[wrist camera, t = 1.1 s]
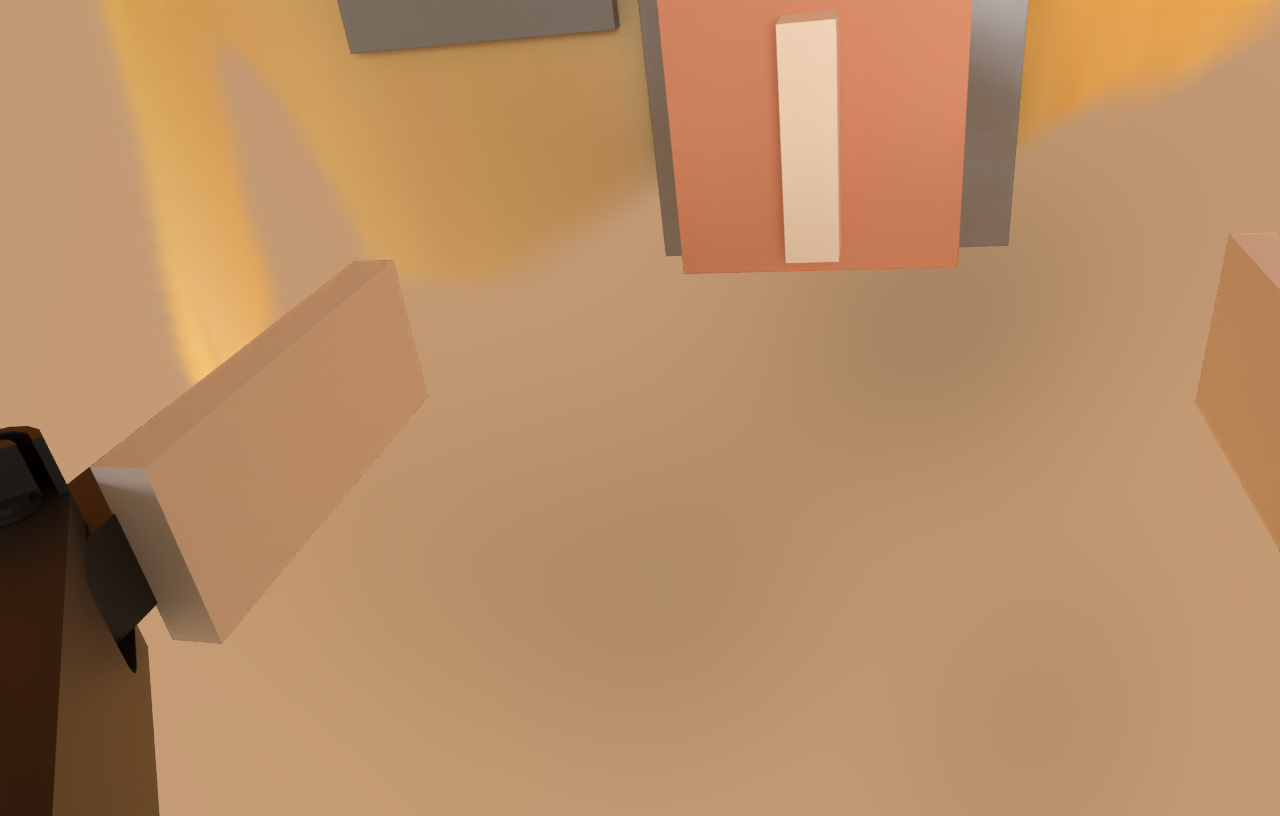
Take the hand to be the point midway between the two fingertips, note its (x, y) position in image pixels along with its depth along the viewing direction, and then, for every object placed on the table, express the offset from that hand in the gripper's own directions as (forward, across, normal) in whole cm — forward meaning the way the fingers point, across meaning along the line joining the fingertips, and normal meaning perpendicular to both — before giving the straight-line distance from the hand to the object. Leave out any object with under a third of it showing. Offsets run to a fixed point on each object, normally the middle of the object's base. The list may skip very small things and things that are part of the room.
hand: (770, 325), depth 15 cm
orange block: (+17, 0, 0) cm, 17 cm away
